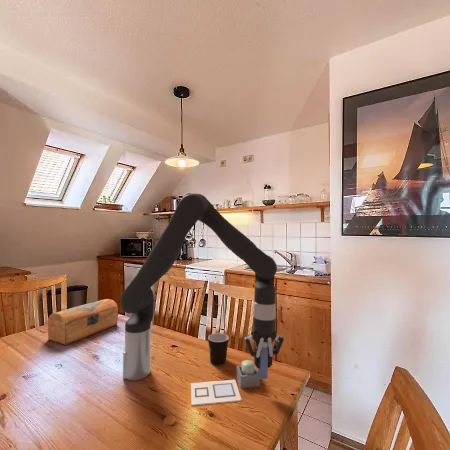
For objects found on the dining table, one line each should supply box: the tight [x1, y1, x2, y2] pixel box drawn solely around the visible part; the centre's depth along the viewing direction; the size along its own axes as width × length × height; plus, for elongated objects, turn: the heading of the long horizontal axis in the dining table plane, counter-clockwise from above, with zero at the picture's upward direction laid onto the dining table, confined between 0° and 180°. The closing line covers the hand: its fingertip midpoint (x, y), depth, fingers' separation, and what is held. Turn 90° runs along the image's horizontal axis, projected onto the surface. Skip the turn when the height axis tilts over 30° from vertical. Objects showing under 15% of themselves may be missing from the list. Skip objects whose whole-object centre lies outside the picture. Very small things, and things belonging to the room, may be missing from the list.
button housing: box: [236, 363, 261, 389], centre depth 92 cm, size 7×7×4 cm
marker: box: [257, 342, 269, 380], centre depth 85 cm, size 3×3×12 cm
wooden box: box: [47, 298, 119, 346], centre depth 136 cm, size 30×16×14 cm, turn 151°
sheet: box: [190, 379, 242, 407], centre depth 86 cm, size 16×11×1 cm
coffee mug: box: [207, 332, 229, 367], centre depth 107 cm, size 12×9×10 cm
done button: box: [241, 359, 255, 375], centre depth 92 cm, size 5×5×4 cm
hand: (263, 366), depth 85 cm, fingers closed on marker, 3 cm apart
